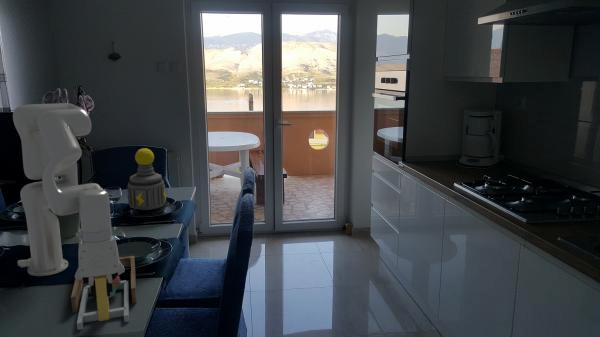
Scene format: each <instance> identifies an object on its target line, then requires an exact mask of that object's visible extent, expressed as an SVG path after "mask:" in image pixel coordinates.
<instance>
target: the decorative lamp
mask: <svg viewBox="0 0 600 337" xmlns="http://www.w3.org/2000/svg"><path fill="white" fill-rule="evenodd" d="M134 158H135V159H134V160H135V161H136V163H137V164H138V166H137V170H136V171H137V172H136V173H135V174H133V175H131V176H130V177H129V182H127V186H126V187H127V197H126V198H127V204H128V205H129V207H130V209H132V208H135V209H141V210H140V211H151V210H156V209H159V208H162V207H164V206H165V204H166V202H167V194H166V184H165V181H164V179H163V176H162V174H159V173H157V172H155V170H154V167H153V162H154V160H155V155H154V153H153V151H152V150H151V149H149V148H144V147H143V148H140V149H138V150H137V151H136V153H135V155H134ZM135 209H134V210H135Z"/></svg>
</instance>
